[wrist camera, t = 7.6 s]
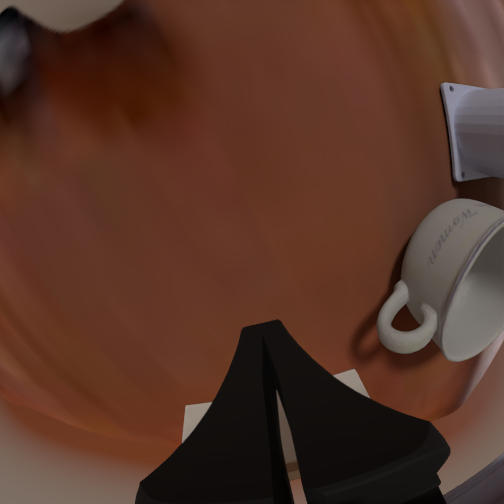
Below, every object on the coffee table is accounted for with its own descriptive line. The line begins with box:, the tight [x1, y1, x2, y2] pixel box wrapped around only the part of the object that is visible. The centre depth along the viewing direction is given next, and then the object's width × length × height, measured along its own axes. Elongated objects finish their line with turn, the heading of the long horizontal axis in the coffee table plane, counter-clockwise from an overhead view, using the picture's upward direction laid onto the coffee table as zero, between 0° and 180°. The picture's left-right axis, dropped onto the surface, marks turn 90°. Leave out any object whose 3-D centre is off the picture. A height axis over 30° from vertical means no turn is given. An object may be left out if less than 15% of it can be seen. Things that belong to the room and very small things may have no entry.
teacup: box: [377, 199, 504, 362], centre depth 16 cm, size 14×11×8 cm
